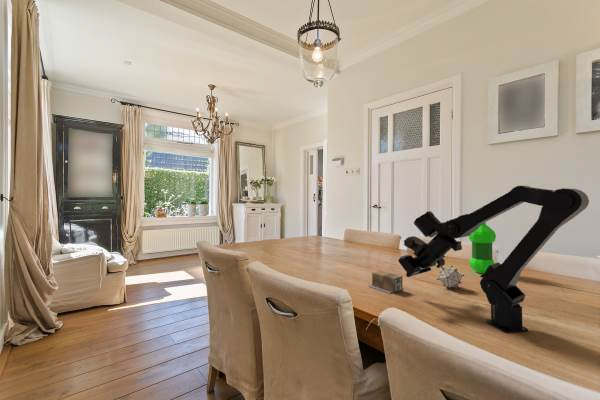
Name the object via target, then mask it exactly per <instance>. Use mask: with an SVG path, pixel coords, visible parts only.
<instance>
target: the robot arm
mask: <svg viewBox="0 0 600 400" xmlns="http://www.w3.org/2000/svg"><path fill="white" fill-rule="evenodd" d="M524 203H527V204H530V205H531V204H532V205H536V206H540V207H541V210H540V212H539V216H538V219H537V220H536V222H535V223H534V224H533V225H532V227H531V228H530V229H529V230H528V231H527V233H526V234H524V236H523V237H522V239H521V240H520V241H519V242H518V244H517V245H516V246H515V247H514V248H513V250H512V251H511V252H510V253H509V255H507V256H506V258H505V259H504V261H503V262H502V263H500V261H499V262H498V261H497V262H494V263H495V264H492V265H489V266H488V268H487V270H486V272H485V273H484V274H482V275H481V274H480V275H479V278H481V279H480V281H479V285H480V288H481V290H482V292H483V293H484V294H485V295H486V299H487V301H488V303H489V305H490V319H489V318H488V319H486V322H487V323H488V324H490V325H491V326H493V327H495V328H497V329H498V330H500V331H502V332H504V333H519V332H520V333H521V332H529V328H528V327H526V326H524V325H523V306H522V305H520V303H523V302H524V301H525V299H526V294H525V293H524V292H523V291H522V290H521V288H519V287H518V286H517V284H518V281H520V276H521V273H522V271H523V270H524V269H525V267H526V266H527V265H528V264H529V263H530V262H531V260H533V258H534V257H535V256H536V255H537V254H538V253H539V252H540V250H541V249H543V247H544V245H546V243H547V242H548V241H549V240H550V239H551V238H552V237H553V235H555V233H556V232H557V231H558V230H559V228H561V227H562V226H563V225H565V224H567V223H568V222H570V221H571V220H573V219H574V218H575V217H577V216H578V215H579V214H580V213H582V212H583V211H584V210H585V209H587V207H588V206H589V203H590V200H589V196H588V195H587V193H586V192H584V191H582V190H580V189H578V188H562V187H561V188H558V189H557V188H556V189H554V190H552V189H545V188H538V187H532V186H528V185H517V186H513V187H512V188H511V189H510V190H509V191H506V192H505V193H503V194H502V195H500V196H498V197H497V198H494V199H492V200H491V201H489V202H487V203H485V204H484V205H482V206H481V207H478V208H477V209H475V210H473V211H471V212H468V213H465V214H462V215H458V216H456V217H453V218H449V219H448V220H446V221H444V222H441V221H440V220H439V219H438V218H437V217H436V216H435V214H434V212H432V211H431V210H430V211H428V210H427V211H426V212H425V213H423V214H421V215H419V217H417V218H415V220H414V222H413V225H414V226H415V227H416V228H417V230H418V231H419V232H420V233H421V234H422V235H423V236H424V237H425V238H428V237H429V238H431V240H430V241H428V243H427V242H425V241H424V240H422V239H420V238H419V237H417V236H415V235H414V236H408V237H406V238H405V239H404V240H403V246H405V247H406V248H408V249H410V250H412V251H413V253H412V254H413V255H414V256H415V257H413V256H412V255H410V254H405V255H401V256H400V257H399V258H398V263H399V265H400V266H401V267H402V268H403V269H404V270H405V272H406V273H405V275H406V277H407V278H410V277H413V276H417V275H421V274H423V273H427V272H431V271H432V267H436V269H440V268H441V267H444V265H445V264H446V260H445V259H444V258H445V257H446V256H445V255H446V254H447V253H448V252H450V251H451V250H453V251H454V252H458V251H461V250H463V246H462V241H459V240H457V239H460V238H467V237H469V235H470V234H472V233H473V232H474V231H476V230H477V229H478V228H479V227H480V226H481V225H482V224H483V223H485V222H486V223H487V222H488V221H490V220H492V219H495V218H496V217H498V216H500V215H502V214H504V213H506V212H508V211H510V210H512V209H515V208H516V207H518V206H519V205H522V204H524Z"/></svg>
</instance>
